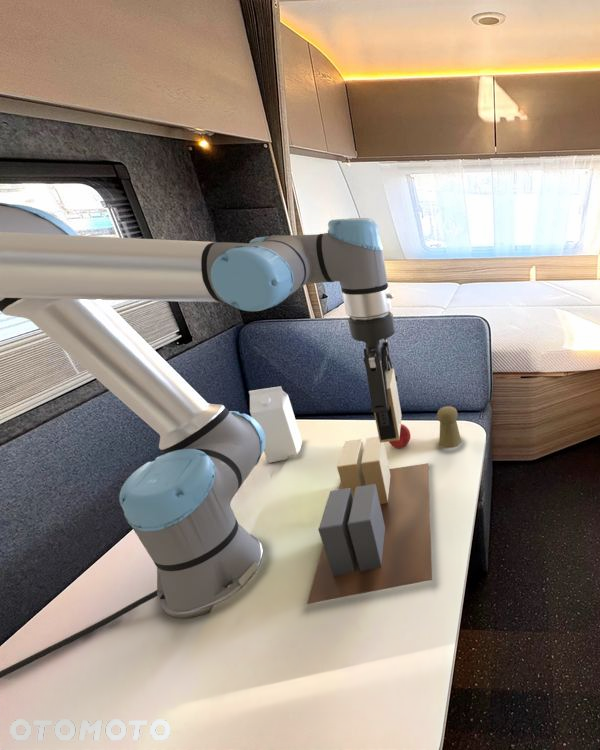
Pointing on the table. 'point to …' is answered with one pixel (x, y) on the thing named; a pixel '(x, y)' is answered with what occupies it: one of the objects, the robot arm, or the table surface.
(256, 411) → the milk carton
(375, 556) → the grey rectangular block
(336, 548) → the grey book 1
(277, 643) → the table surface
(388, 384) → the cream book
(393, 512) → the shelf board
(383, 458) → the cream book
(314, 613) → the table surface
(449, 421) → the olive pawn
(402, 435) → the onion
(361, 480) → the cream book
